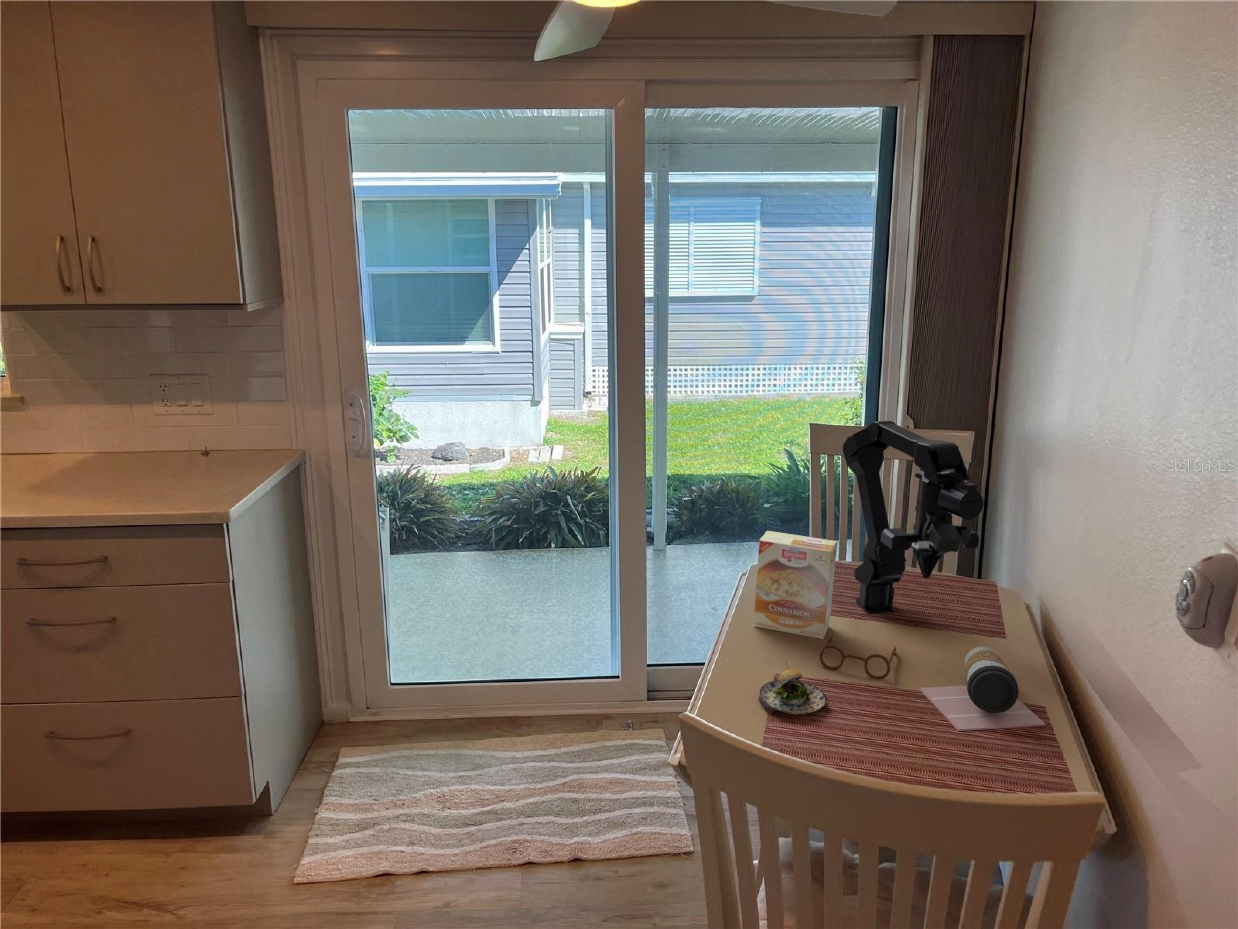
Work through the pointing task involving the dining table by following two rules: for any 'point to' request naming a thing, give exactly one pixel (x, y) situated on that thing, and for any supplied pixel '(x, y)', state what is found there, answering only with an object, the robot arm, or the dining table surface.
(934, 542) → the robot arm
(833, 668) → the glasses
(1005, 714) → the pink napkin
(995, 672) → the coffee cup
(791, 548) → the coffeecake box
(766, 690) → the burger
